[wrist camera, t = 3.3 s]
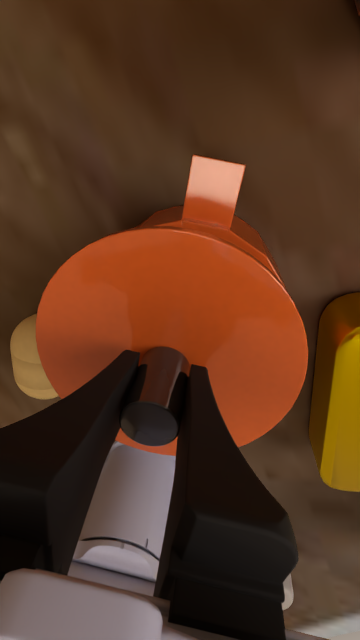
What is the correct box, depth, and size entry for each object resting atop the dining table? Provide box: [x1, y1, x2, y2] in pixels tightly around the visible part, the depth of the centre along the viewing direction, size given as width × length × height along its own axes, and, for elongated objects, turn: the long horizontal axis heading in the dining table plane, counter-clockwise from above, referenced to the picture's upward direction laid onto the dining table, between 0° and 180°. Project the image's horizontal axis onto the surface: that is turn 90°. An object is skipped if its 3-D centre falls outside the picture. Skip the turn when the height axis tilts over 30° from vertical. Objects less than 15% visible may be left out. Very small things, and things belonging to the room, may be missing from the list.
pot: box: [135, 154, 287, 290], centre depth 19 cm, size 11×17×5 cm
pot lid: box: [36, 226, 308, 456], centre depth 13 cm, size 12×12×4 cm
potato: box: [10, 314, 59, 399], centre depth 24 cm, size 7×5×5 cm, turn 170°
